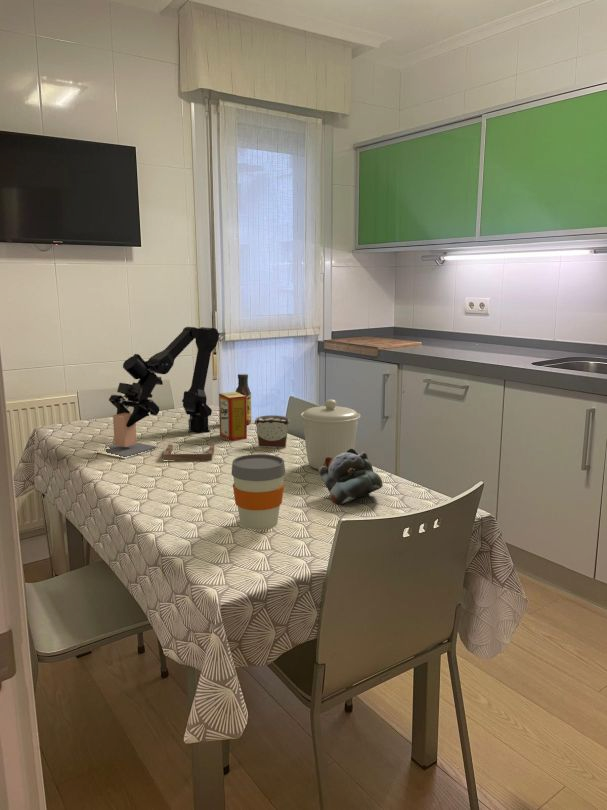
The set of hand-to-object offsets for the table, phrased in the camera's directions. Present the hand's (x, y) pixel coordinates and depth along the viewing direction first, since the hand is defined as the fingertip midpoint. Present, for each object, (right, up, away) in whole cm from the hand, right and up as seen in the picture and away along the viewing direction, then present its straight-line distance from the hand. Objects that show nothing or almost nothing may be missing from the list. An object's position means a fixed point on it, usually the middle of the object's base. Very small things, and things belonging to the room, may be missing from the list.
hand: (121, 425), depth 203 cm
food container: (+49, -7, +12) cm, 51 cm away
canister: (+68, -12, -13) cm, 70 cm away
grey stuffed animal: (+72, -18, -40) cm, 85 cm away
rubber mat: (+1, -9, +3) cm, 9 cm away
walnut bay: (+23, -10, -2) cm, 25 cm away
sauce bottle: (+36, -1, +43) cm, 56 cm away
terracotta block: (+1, -6, +2) cm, 7 cm away
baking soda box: (+34, -5, +22) cm, 41 cm away
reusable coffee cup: (+49, -21, -57) cm, 78 cm away
